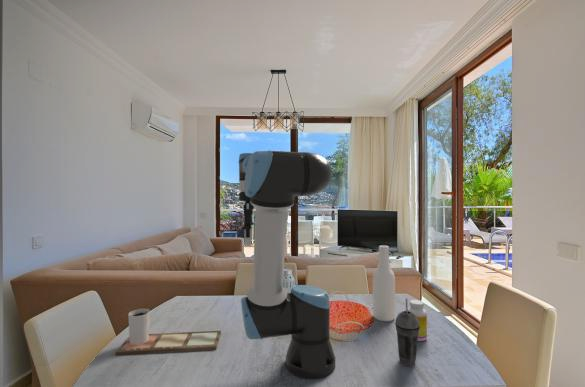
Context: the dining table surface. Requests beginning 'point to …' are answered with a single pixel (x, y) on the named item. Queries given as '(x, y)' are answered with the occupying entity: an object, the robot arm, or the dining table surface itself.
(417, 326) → the beverage cup
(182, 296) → the dining table surface
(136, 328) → the white coffee cup
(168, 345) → the tile board
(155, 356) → the dining table surface
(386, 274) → the white bottle
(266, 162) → the robot arm
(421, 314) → the supplement bottle
